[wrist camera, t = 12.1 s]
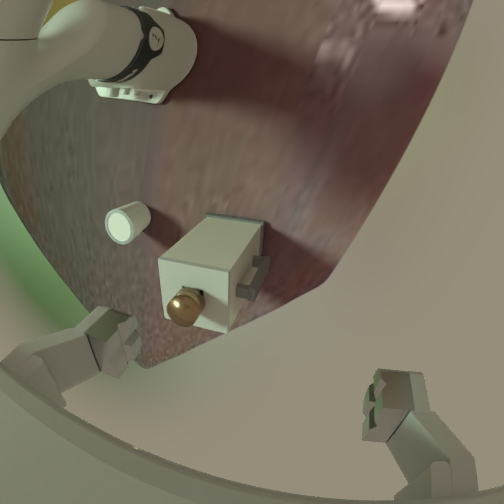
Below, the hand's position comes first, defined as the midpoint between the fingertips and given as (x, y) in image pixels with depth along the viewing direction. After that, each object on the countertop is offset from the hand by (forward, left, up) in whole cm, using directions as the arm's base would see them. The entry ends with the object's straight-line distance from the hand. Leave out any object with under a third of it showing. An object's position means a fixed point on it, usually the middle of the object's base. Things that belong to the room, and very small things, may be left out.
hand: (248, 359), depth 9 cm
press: (-12, -16, -41) cm, 46 cm away
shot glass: (-33, -13, -41) cm, 54 cm away
